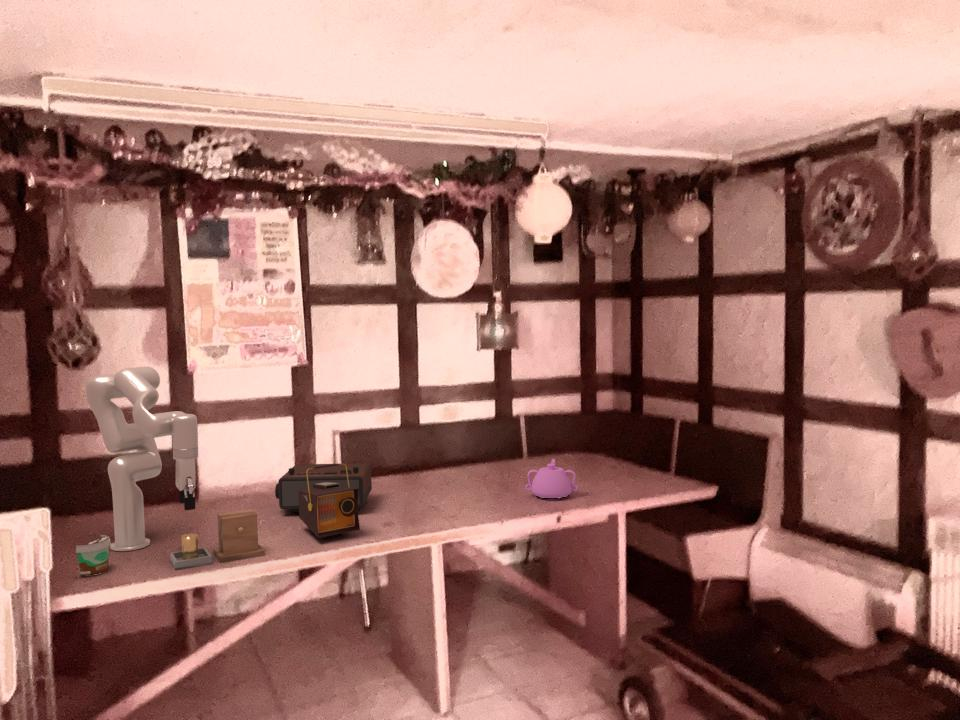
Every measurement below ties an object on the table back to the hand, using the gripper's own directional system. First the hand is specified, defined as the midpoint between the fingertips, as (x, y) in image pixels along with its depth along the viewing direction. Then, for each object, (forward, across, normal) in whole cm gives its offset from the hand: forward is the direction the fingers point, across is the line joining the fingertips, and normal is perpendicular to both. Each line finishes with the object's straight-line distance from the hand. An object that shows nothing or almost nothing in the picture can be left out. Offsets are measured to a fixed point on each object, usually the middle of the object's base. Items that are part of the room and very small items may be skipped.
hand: (187, 506), depth 247 cm
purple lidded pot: (+17, -7, +146) cm, 148 cm away
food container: (+19, -5, -26) cm, 32 cm away
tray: (+18, +1, 0) cm, 18 cm away
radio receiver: (+19, -42, +59) cm, 75 cm away
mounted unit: (+18, +1, +15) cm, 24 cm away
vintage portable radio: (+18, -5, +47) cm, 51 cm away
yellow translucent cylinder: (+18, +1, 0) cm, 18 cm away
